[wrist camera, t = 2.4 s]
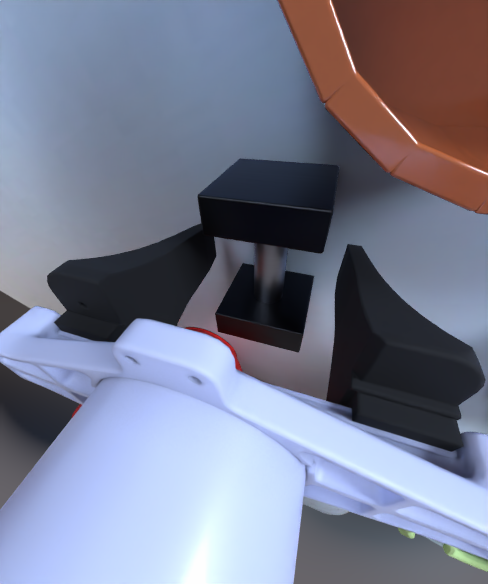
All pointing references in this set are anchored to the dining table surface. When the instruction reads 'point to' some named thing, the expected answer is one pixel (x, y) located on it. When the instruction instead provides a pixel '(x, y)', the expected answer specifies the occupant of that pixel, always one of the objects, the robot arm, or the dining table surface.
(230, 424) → the robot arm
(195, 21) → the dining table surface
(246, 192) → the dumbbell
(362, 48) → the pot
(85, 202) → the dining table surface
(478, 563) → the figurine
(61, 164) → the dining table surface
